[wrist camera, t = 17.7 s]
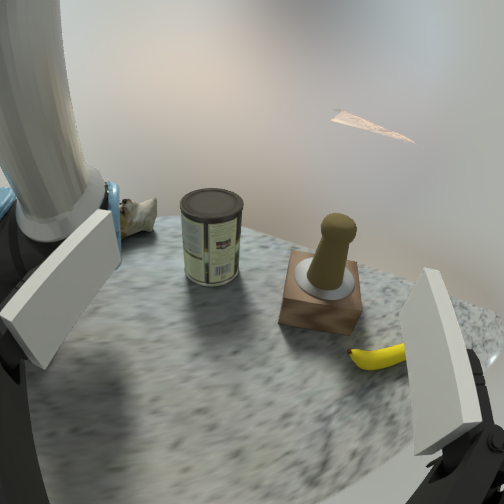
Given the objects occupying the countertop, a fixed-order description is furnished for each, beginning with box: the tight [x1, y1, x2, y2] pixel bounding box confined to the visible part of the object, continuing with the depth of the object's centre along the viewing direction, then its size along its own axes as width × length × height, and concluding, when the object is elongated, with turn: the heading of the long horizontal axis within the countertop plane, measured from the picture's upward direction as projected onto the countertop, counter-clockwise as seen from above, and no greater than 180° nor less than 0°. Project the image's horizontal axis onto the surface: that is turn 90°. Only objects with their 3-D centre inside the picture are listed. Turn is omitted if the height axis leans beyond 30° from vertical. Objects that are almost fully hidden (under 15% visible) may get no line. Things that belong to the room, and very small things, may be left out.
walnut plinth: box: [278, 250, 362, 335], centre depth 50 cm, size 12×12×6 cm
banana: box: [347, 343, 406, 370], centre depth 41 cm, size 3×19×6 cm, turn 100°
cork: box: [306, 213, 357, 291], centre depth 45 cm, size 6×6×11 cm
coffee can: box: [180, 188, 244, 287], centre depth 53 cm, size 10×10×14 cm
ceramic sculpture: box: [119, 198, 157, 239], centre depth 62 cm, size 11×9×15 cm
